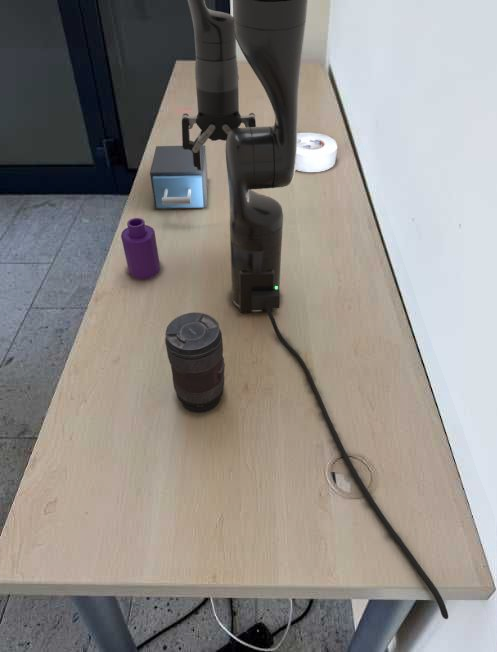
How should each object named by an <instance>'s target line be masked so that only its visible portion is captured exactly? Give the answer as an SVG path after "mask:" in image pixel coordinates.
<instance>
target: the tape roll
mask: <svg viewBox="0 0 497 652" xmlns="http://www.w3.org/2000/svg"><path fill="white" fill-rule="evenodd" d="M337 153H338V143H337V141H336V140H335V138H333V137H331V136H329V135H326V134H322V133H318V132H306V131H305V132H297V155H296V168H295V171H298V172H302V173H319V172H324V171H327V170H330V169H331V168H333V167H334V166H335V164H336V161H337V160H336V159H337Z"/></svg>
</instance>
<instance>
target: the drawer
mask: <svg viewBox="0 0 497 652" xmlns="http://www.w3.org/2000/svg"><path fill="white" fill-rule="evenodd" d="M152 179H153V186H154V193H155V199H156V206H157V208H170V209H184V208H183V207H203V191H202V178H201V175H157V176H153V178H152Z"/></svg>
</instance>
